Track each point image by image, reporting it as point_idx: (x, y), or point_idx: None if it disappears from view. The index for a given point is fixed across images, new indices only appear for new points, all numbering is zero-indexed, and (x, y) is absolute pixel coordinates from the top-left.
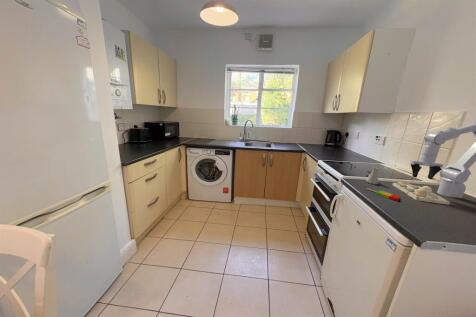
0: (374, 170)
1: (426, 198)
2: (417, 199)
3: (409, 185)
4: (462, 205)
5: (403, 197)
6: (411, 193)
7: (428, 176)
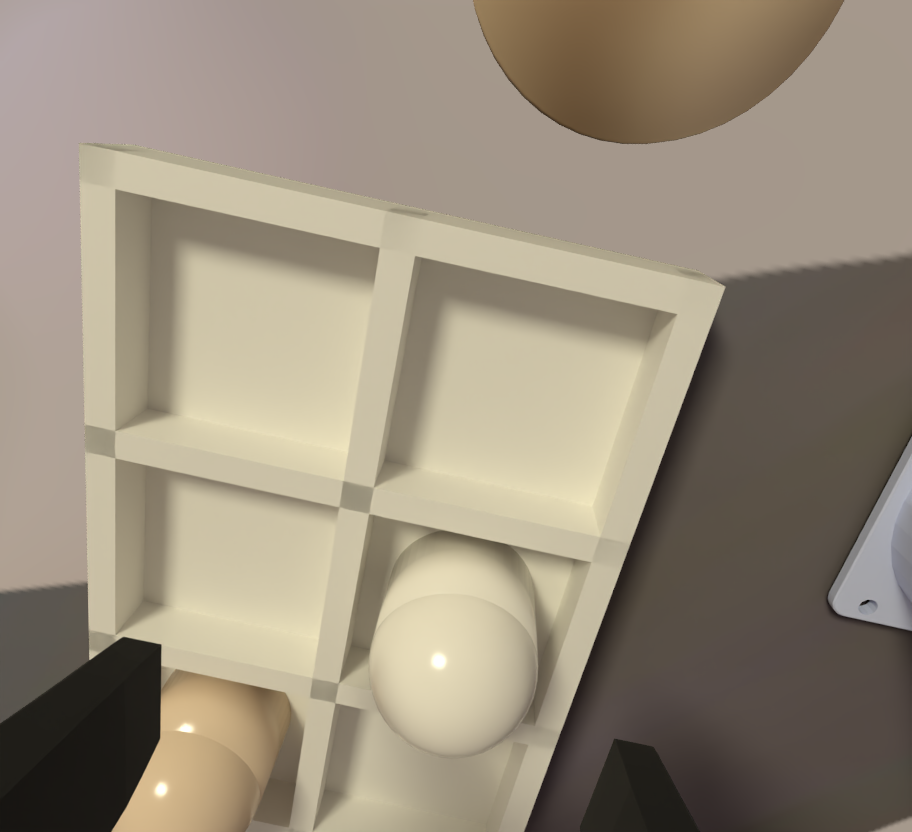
0: None
1: None
2: None
3: (459, 265)
4: (768, 809)
5: (15, 666)
6: None
7: (623, 814)
